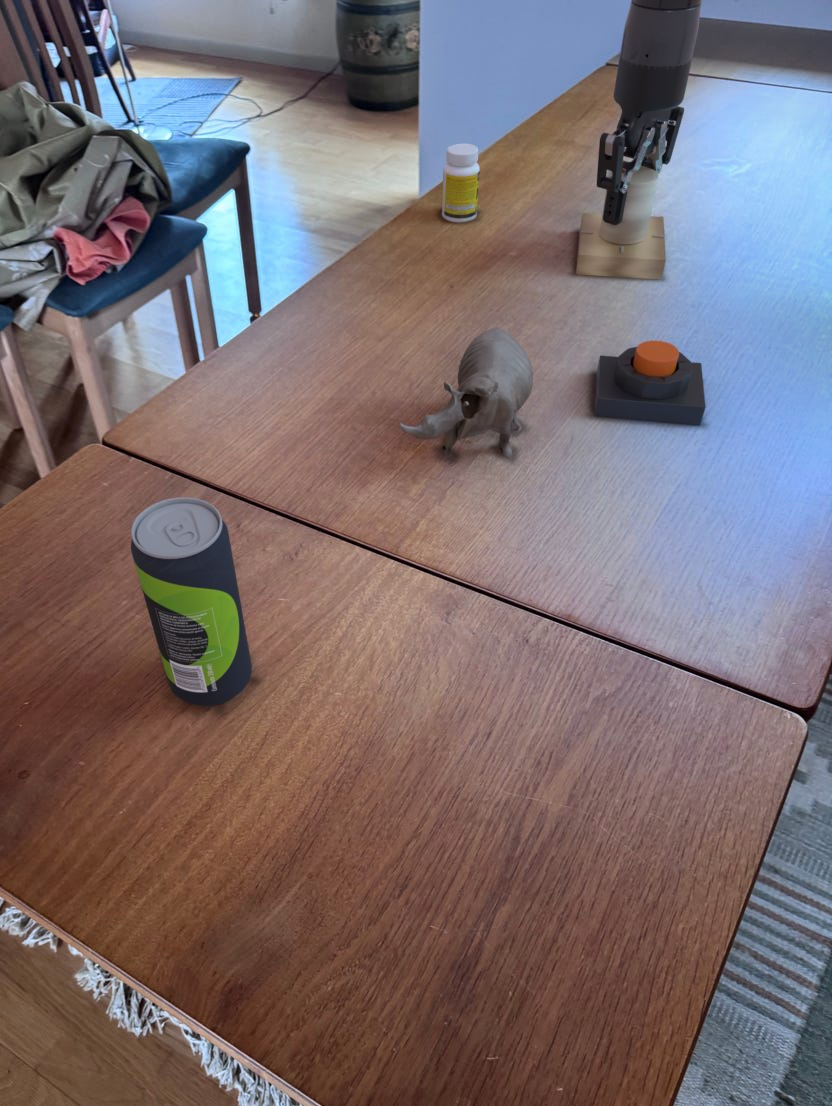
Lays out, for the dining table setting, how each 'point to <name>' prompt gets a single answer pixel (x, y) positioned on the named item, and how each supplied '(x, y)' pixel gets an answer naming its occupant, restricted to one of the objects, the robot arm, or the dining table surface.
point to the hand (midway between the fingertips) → (626, 213)
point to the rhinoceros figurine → (483, 393)
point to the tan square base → (620, 251)
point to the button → (655, 358)
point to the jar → (633, 209)
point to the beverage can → (192, 599)
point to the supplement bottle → (460, 183)
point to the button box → (649, 391)
